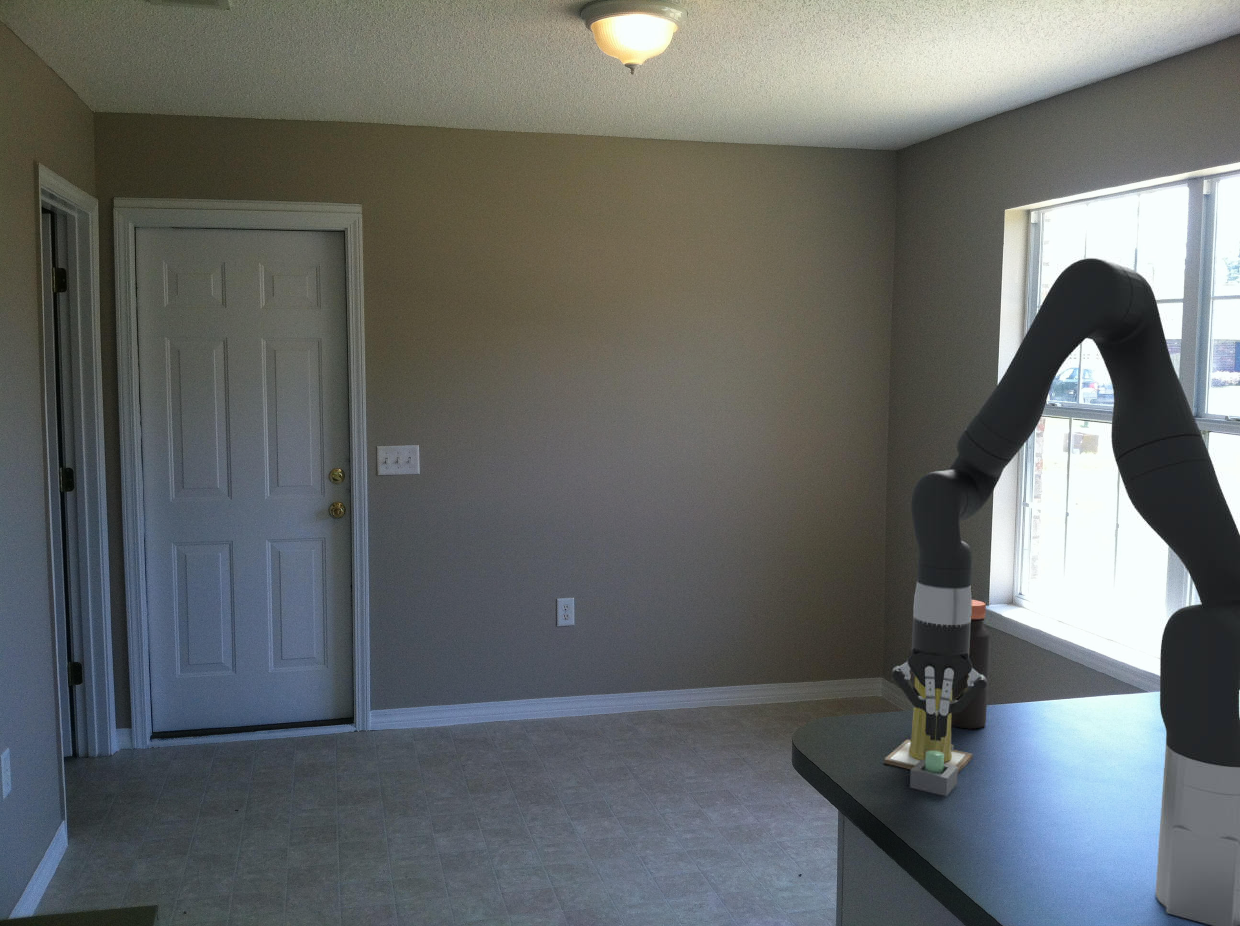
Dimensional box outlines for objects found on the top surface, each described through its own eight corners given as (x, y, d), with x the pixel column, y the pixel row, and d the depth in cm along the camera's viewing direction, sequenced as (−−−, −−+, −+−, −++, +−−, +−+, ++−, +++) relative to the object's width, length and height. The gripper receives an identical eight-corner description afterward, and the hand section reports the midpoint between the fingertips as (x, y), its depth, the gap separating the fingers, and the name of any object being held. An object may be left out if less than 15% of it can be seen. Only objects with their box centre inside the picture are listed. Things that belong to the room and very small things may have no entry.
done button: (940, 780, 143) (941, 758, 142) (922, 776, 144) (923, 754, 144) (945, 775, 145) (946, 752, 144) (928, 771, 146) (929, 749, 146)
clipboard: (952, 779, 147) (953, 769, 147) (884, 763, 153) (884, 753, 152) (972, 757, 155) (973, 748, 155) (906, 743, 161) (907, 734, 161)
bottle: (933, 720, 171) (939, 601, 169) (957, 712, 176) (963, 595, 174) (970, 732, 166) (976, 609, 164) (994, 724, 170) (1000, 603, 168)
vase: (904, 758, 153) (909, 663, 151) (913, 745, 158) (917, 653, 157) (947, 766, 150) (952, 669, 149) (955, 752, 155) (959, 658, 154)
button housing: (946, 796, 141) (947, 778, 141) (909, 787, 144) (910, 769, 144) (956, 784, 145) (957, 766, 145) (921, 775, 148) (922, 758, 148)
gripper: (890, 617, 141) (884, 742, 142) (994, 626, 137) (987, 754, 139) (893, 605, 148) (887, 724, 150) (992, 613, 144) (985, 735, 146)
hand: (935, 738), depth 144 cm, fingers closed
